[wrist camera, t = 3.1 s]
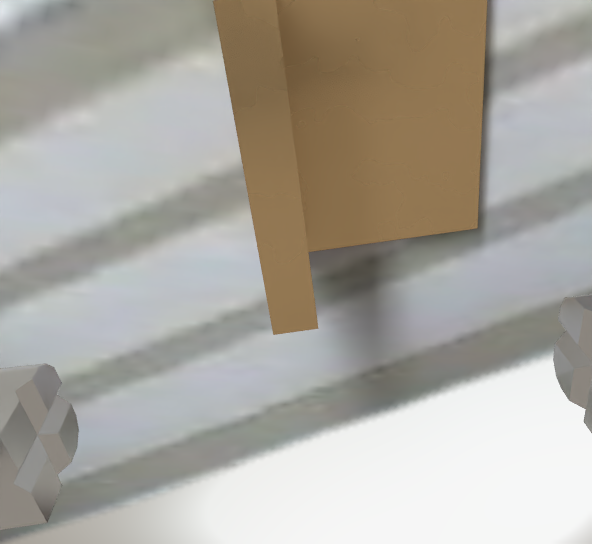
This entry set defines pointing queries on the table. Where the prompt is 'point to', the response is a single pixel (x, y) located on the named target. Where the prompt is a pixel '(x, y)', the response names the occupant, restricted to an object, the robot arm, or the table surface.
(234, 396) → the table surface
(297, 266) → the bracket
